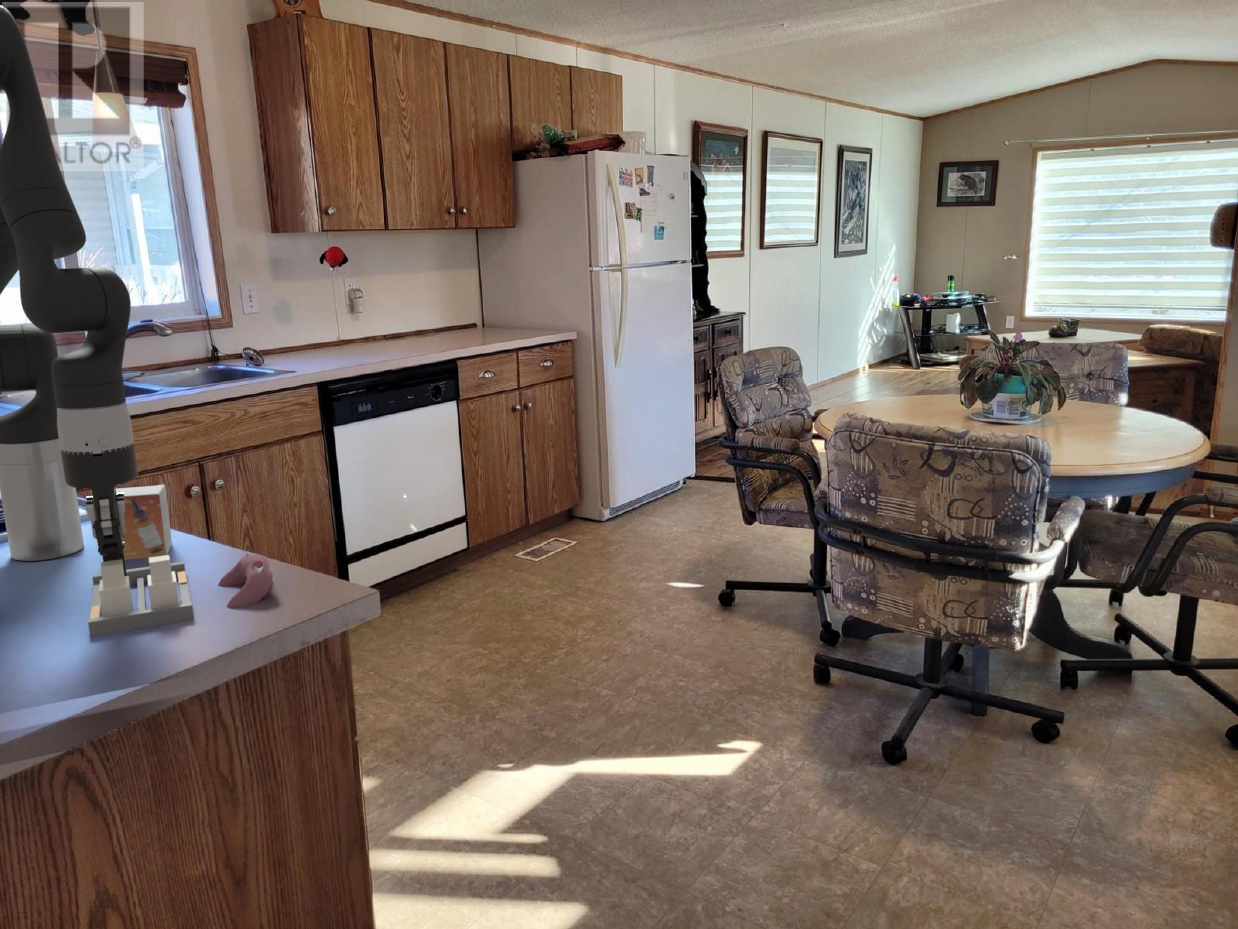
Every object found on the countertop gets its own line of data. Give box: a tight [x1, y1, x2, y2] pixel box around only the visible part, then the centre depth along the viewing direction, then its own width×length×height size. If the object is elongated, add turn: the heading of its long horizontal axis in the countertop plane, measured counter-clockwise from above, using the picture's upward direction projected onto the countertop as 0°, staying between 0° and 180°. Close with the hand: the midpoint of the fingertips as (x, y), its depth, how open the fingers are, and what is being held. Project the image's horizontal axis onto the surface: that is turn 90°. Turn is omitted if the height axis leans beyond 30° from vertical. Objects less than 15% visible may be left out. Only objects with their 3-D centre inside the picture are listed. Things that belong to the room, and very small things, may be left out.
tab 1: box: [99, 559, 134, 617], centre depth 106 cm, size 4×3×6 cm
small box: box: [116, 484, 173, 561], centre depth 128 cm, size 8×6×10 cm
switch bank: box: [87, 561, 195, 637], centre depth 110 cm, size 20×11×3 cm, turn 28°
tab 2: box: [147, 554, 180, 609], centre depth 107 cm, size 4×3×6 cm
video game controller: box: [217, 552, 275, 609], centre depth 114 cm, size 10×5×7 cm, turn 30°
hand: (117, 581), depth 109 cm, fingers closed
